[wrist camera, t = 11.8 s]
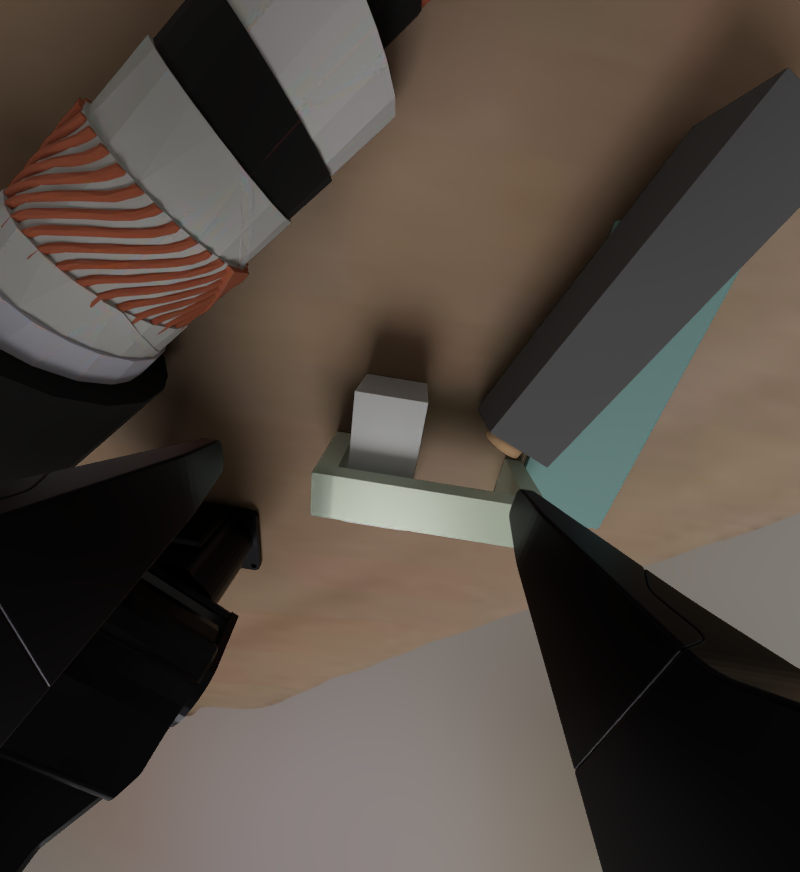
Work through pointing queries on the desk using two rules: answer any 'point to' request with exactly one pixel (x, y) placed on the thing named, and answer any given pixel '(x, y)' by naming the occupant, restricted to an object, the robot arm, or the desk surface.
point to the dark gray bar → (654, 270)
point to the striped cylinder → (171, 202)
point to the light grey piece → (415, 499)
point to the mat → (620, 429)
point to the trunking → (387, 426)
